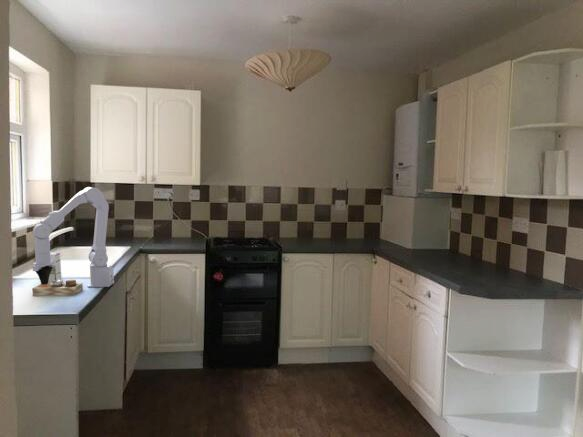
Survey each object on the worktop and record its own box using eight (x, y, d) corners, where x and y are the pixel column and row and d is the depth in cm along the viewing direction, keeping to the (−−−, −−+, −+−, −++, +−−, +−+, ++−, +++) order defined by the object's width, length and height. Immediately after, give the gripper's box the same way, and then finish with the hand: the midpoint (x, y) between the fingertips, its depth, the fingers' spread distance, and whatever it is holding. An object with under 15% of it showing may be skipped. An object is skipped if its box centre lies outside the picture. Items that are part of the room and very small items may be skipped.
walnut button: (77, 285, 209) (77, 279, 209) (73, 287, 205) (73, 281, 205) (68, 285, 209) (68, 279, 209) (64, 287, 205) (63, 281, 205)
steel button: (64, 285, 209) (64, 279, 209) (60, 287, 205) (60, 281, 205) (55, 285, 209) (55, 279, 208) (51, 287, 205) (50, 282, 204)
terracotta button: (52, 288, 209) (51, 282, 209) (47, 290, 205) (47, 285, 205) (42, 288, 209) (42, 282, 208) (37, 290, 205) (37, 285, 204)
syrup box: (62, 282, 225) (60, 251, 223) (56, 285, 219) (54, 253, 217) (49, 282, 225) (47, 251, 223) (43, 285, 219) (41, 253, 217)
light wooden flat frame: (82, 289, 212) (82, 282, 211) (74, 295, 203) (73, 288, 202) (43, 289, 211) (42, 283, 211) (32, 295, 202) (32, 288, 202)
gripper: (41, 249, 212) (43, 280, 214) (24, 255, 198) (26, 288, 199) (57, 249, 212) (59, 280, 214) (41, 255, 198) (43, 288, 199)
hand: (44, 284), depth 206 cm, fingers closed, pressing on terracotta button
